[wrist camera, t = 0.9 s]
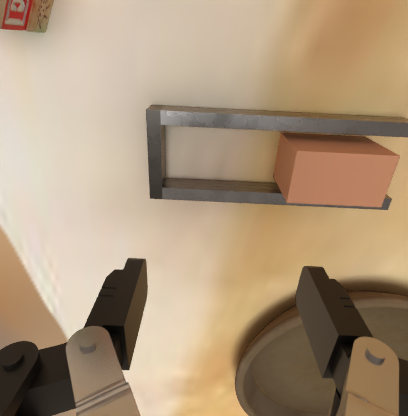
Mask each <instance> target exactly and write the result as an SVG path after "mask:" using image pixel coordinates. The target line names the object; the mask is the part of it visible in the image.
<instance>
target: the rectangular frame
mask: <svg viewBox="0 0 408 416" xmlns="http://www.w3.org/2000/svg"><path fill="white" fill-rule="evenodd" d="M146 120H147V142H148V164H149V186H150V198H151V199H172V200H192V201H213V202H234V203H255V204H275V205H296V206H317V207H338V208H359V209H379V210H388V208H389V205H390V203H391V200H392V199H391V198H390V197H389V196H388V195H387V194H386V196H385V198H384V201H383V204H382V206H381V207H363V206H343V205H322V204H301V203H287V202H286V200H285V198H284V196H283V194H282V192H281V191H280V189H279V187H278V185H277V183H262V182H242V181H221V180H201V179H180V178H166V173H165V125H171V126H192V127H212V128H232V129H252V130H272V131H292V132H312V133H332V134H352V135H372V136H392V137H408V119H406V118H401V117H381V116H361V115H341V114H322V113H302V112H282V111H262V110H242V109H222V108H203V107H183V106H163V105H151V106H150V107H148V108H147V109H146Z"/></svg>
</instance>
